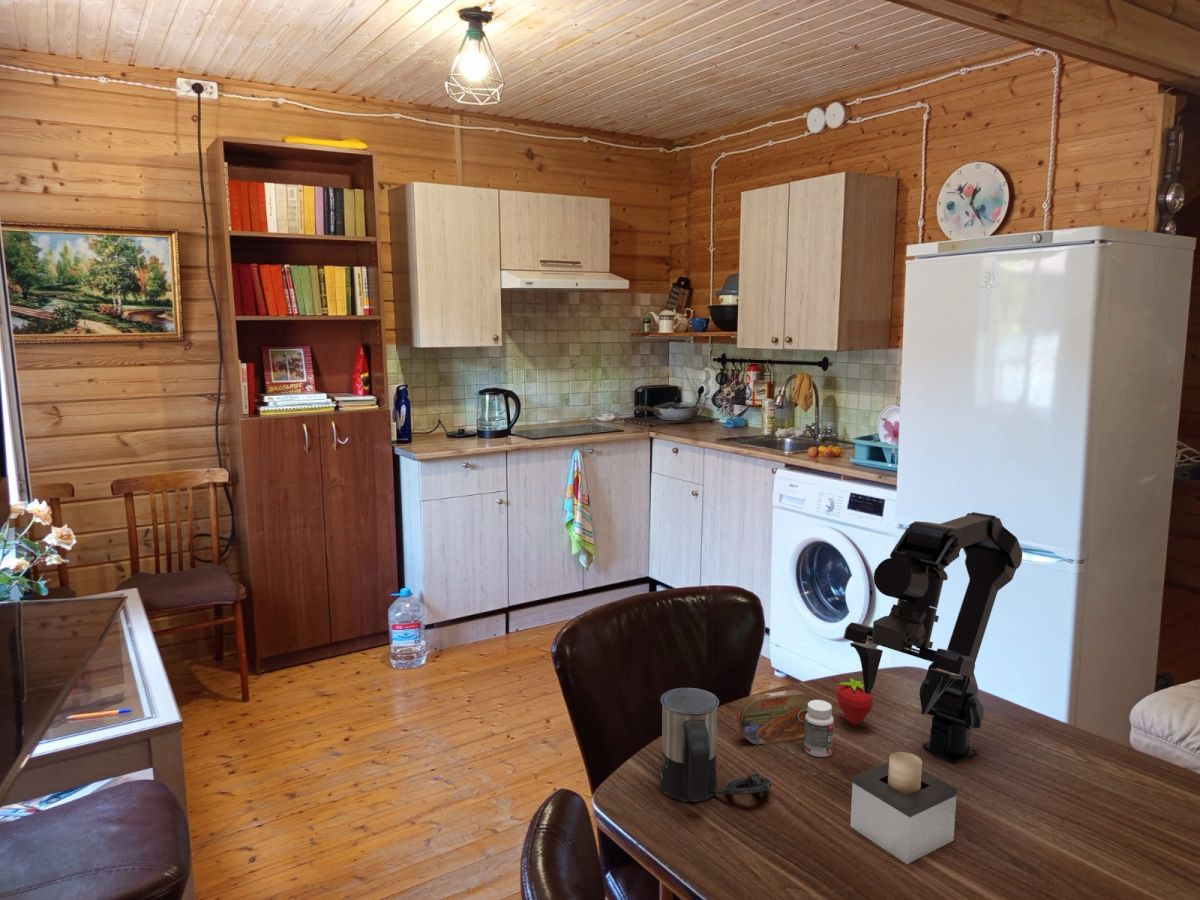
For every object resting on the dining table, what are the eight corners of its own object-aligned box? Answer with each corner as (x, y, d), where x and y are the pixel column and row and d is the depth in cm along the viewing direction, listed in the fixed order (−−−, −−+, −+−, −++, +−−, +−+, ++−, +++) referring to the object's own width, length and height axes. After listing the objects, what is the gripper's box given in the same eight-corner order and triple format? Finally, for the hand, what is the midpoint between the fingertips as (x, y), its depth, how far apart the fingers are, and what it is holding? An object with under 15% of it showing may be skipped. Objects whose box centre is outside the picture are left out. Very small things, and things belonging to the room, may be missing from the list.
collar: (896, 805, 128) (898, 757, 126) (953, 840, 119) (957, 788, 118) (850, 826, 122) (852, 776, 121) (906, 864, 114) (910, 810, 113)
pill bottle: (833, 759, 141) (835, 712, 140) (804, 756, 142) (806, 710, 141) (831, 745, 146) (833, 700, 144) (803, 742, 147) (805, 697, 145)
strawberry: (848, 737, 148) (851, 684, 147) (828, 717, 155) (830, 666, 154) (878, 733, 149) (881, 681, 148) (857, 714, 157) (859, 663, 155)
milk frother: (649, 777, 136) (650, 692, 133) (734, 758, 141) (736, 676, 139) (691, 827, 123) (692, 733, 120) (782, 803, 128) (785, 713, 126)
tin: (740, 747, 145) (742, 702, 144) (733, 739, 148) (734, 694, 147) (819, 737, 148) (821, 692, 147) (811, 728, 151) (813, 685, 150)
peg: (900, 796, 123) (903, 748, 122) (925, 811, 119) (928, 762, 118) (880, 805, 121) (882, 757, 120) (905, 820, 117) (908, 771, 116)
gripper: (838, 583, 130) (814, 681, 129) (956, 614, 116) (931, 725, 115) (871, 591, 137) (850, 684, 136) (986, 621, 124) (963, 726, 123)
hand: (894, 703), depth 127 cm, fingers open, 9 cm apart
